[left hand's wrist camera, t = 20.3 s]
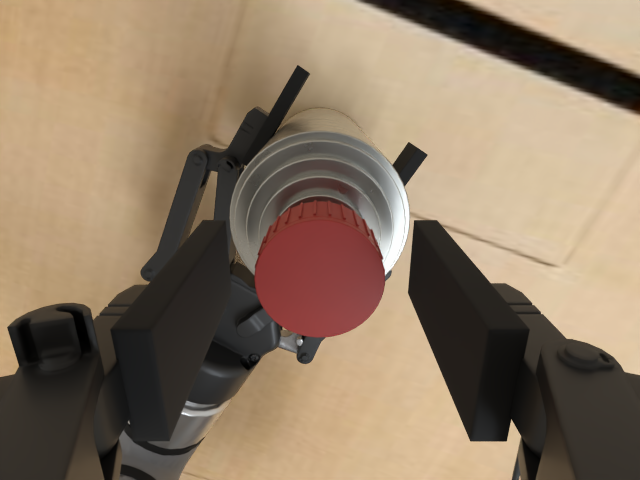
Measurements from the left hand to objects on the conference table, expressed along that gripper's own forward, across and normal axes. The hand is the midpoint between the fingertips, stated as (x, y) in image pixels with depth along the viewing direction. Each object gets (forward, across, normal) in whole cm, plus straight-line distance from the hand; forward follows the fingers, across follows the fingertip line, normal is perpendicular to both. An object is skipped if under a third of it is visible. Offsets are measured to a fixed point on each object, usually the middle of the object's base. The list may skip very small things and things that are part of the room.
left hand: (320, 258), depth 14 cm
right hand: (+14, -3, -4) cm, 14 cm away
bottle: (+20, 0, 0) cm, 20 cm away
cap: (-1, 0, 0) cm, 1 cm away
